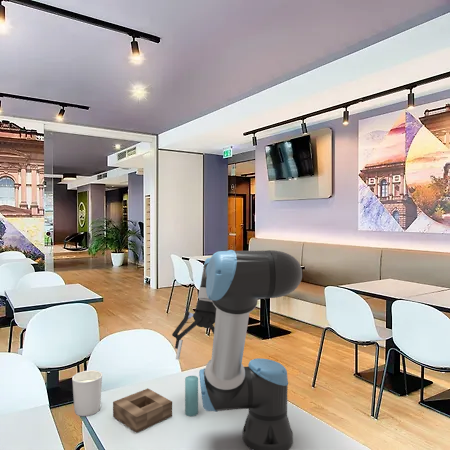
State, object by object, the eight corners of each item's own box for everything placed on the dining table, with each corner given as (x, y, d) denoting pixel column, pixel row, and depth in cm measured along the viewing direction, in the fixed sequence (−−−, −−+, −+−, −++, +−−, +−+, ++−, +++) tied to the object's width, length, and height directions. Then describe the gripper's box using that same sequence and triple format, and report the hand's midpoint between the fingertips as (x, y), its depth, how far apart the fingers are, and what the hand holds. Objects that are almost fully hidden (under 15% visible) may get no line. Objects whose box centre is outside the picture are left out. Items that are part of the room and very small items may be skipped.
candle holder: (92, 419, 128) (92, 383, 128) (66, 415, 130) (66, 380, 130) (107, 404, 138) (107, 371, 138) (82, 401, 140) (82, 369, 139)
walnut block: (172, 416, 130) (172, 401, 130) (136, 433, 120) (136, 417, 120) (147, 401, 140) (147, 388, 140) (113, 416, 130) (113, 401, 130)
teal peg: (200, 412, 133) (200, 378, 132) (190, 417, 130) (191, 382, 129) (192, 408, 136) (192, 374, 135) (182, 412, 133) (182, 378, 132)
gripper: (242, 308, 141) (232, 368, 136) (176, 296, 144) (163, 355, 138) (241, 306, 134) (231, 370, 129) (172, 294, 137) (159, 356, 131)
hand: (196, 363), depth 133 cm, fingers open, 13 cm apart
